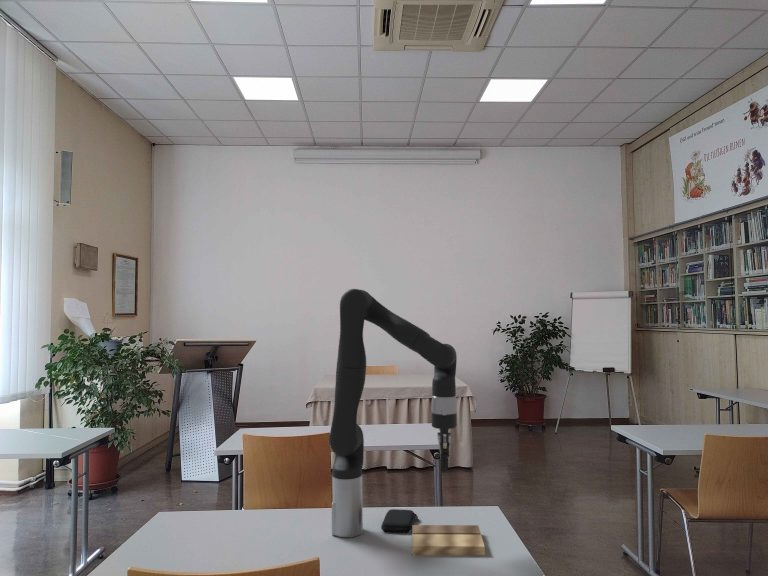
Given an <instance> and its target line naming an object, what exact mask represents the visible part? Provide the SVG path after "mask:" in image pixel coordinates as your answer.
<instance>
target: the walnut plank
mask: <svg viewBox="0 0 768 576" xmlns="http://www.w3.org/2000/svg"><path fill="white" fill-rule="evenodd" d="M411 533H412V534H470V535H481V536H482V534H481V531H480V526H479V525H477V524H476V525H474V524H473V525H472V524H471V525H469V524H465V525H463V524H459V525H458V524H455V525H453V524H452V525H451V524H450V525H449V524H448V525H447V524H444V525H441V524H438V525H437V524H436V525H435V524H434V525H433V524H432V525H431V524H429V525H427V524H413V525H412V530H411ZM412 534H411V535H412Z"/></svg>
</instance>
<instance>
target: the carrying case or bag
mask: <svg viewBox="0 0 768 576" xmlns="http://www.w3.org/2000/svg"><path fill="white" fill-rule="evenodd" d="M416 520H417V521H418V520H419V516H418V514H417V513H415V512H414V511H413V510H411V509H394V508H393V509H388V511H387V512H386V513H385V517H384V519H383V521H382V523H381V526H380V528H381V530H382V531H383V532H384V533H387V532H389V533H392V534H408V533H410V532H412V525H415V521H416Z"/></svg>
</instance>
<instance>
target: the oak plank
mask: <svg viewBox="0 0 768 576" xmlns="http://www.w3.org/2000/svg"><path fill="white" fill-rule="evenodd" d="M411 535H412V538H411V539H412V543H411V550H412V556H486V552H485V551H486V549H485V543H484V540H483V539H484V538H483V536H482V534H481V535H470V534H411ZM413 554H415V555H413Z"/></svg>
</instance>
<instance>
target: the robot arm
mask: <svg viewBox="0 0 768 576" xmlns="http://www.w3.org/2000/svg"><path fill="white" fill-rule="evenodd" d="M365 321H367V322H369V323H371V324H374V325H375V326H377V327H379V328H380V329H381V330H384V331H385V332H386V333H387V334H388V335H389V336H390V337H392V338H393V339H394V340H395V341H397V342H398V343H399V344H401V345H403V346H405V347H406V348H408V349H409V350H411V351H412V352H415V353H417V354H418V355H419V356H420V357H422V358H423V359H424V360H425V361H427V362H428V363H430V364H432V366H433V367H434V370H433V371H434V375H433V377H432V383H431V384H432V385H431V394H432V396H431V404H430V405H431V407H430V408H431V409H430V410H431V411H430V412H431V426H432V428H434V429H437V430H438V429H439V431H438V432H437V441H438V451H439V458H440V470H441V471H449V457H450V450H451V441H452V433H451V432H449V430H450V429H452V430H453V429H455V428H457V425H458V424H457V423H458V420H457V419H458V415H457V413H458V412H457V410H458V409H457V405H458V404H457V396H456V395H457V393H456V385H457V383H456V373H457V358H458V357H457V356H458V355H457V352H456V349H455V348H454V346H452V345H451V344H450V343H443V342H441V341H439V340H437V339H435V338H434V337H432V336H431V335H430V334H429V333H428V332H427V331H425V330H424V329H422V328H421V327H420V326H417V325H415V324H414V323H411V322H410V321H408V320H407V319H405V318H403V317H401V316H399V315H398V314H396V313H394V312H393V311H392V310H390V309H388V308H387V307H386V306H384V305H383V304H382V303H380V302H379V301H378V300H377V299H376V298H375V297H374V296H372V295H371V294H370V293H369V292H368V291H366V290H364V289H360V288H359V289H358V288H350V289H347V290H346V291H345V292H343V294H342V296H341V298H340V301H339V325H340V326H339V327H340V329H339V330H340V331H339V339H338V341H339V342H338V349H337V359H336V371H335V386H334V387H335V388H334V390H335V391H334V407H333V416H332V421H331V426H330V432H329V438H328V439H329V440H328V441H329V443H328V444H329V446H330V449H331V451H332V452H333V453H334V454H335V456H334V462H333V464H332V469H331V470H332V473H331V474H332V475H331V476H332V502H331V535H332V536H336V537H340V538H352V537H357V536H359V535H361V534H362V533H363V531H364V530H363V529H364V521H363V516H364V514H363V509H364V508H363V506H364V505H363V467H364V460H365V459H364V453H365V451H364V447H365V445H364V444H365V442H364V441H365V440H364V432H363V429H362V428H361V426H360V425H359V424H358V423H357V420H358V409H359V405H360V403H361V398H362V397H363V396H362V395H363V391H364V389H365V383H366V376H367V375H366V373H367V356H366V348H365V344H364V343H365V342H364V325H365Z"/></svg>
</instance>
